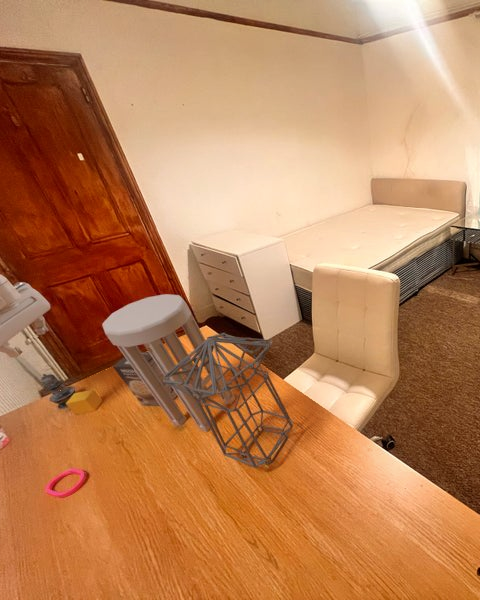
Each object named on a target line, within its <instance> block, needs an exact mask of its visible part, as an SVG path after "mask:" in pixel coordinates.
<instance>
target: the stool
mask: <svg viewBox="0 0 480 600" xmlns="http://www.w3.org/2000/svg"><path fill="white" fill-rule="evenodd" d="M101 325H102V329H103V331H104V334H105V336H106V337H107V338H108V340H109V341H110V343H111V344H112V345H113V346H116V347H117V348H118V349H119V351H120V353H122V355H123V357H125V358H126V359H127V360H128V362H129V363H130V365H131V366H132V367H133V369H134V370H135V371H136V373H137V374H138V376H139V377H140V378H141V380H142V381H143V383H144V384H145V385H146V387H147V388H148V389H149V391H150V392H151V394H152V395H153V396H154V398H155V399H156V401H157V402H158V403H159V405H160V406H159V407H161V409H162V410H163V412H164V413H165V414H166V416H167V417H168V419H169V420H170V421H171V423H172V425H174V426H177V427H182V426H183V424H185V423H186V421H187V420H188V419H187V418H186V416H185V414H184V413H183V412H182V410H181V408H180V407H179V405H178V404H177V403H176V400H175V399H174V398H175V397H176V398H177V397H178V399H179V400H180V402H181V403H182V405H183V406H184V408H185V410H186V411H187V412H188V414H189V415H190V417H191V418H192V420H193V421H194V424H196V427H197V428H198V429H199V431H200V432H201V431H202V432H205V433H208V432H209V431H211V429H210V427H209V425H208V423H207V421H206V419H205V417H204V415H203V413H202V411H201V409H200V408H199V406H198V404H197V401H196V399H195V398H194V397H193V396H191V395H189V394H186V393H184V392H182V391H180V390H178V389H176V388H174V387H172V386H169V385H167V384H166V385H165V386H164V385H163V383H162V382H161V381H160V379H159V378H158V376H157V375H156V373H155V372H154V370H153V369H152V367H151V366H150V364H149V363H148V361H147V360H146V358H145V357H144V355H143V354H142V353H141V352H142V351H141V350H140V348H139V347H138V346H140V345H143V346H144V348H145V349H146V351H147V352H149V353H150V355H151V356H152V358H153V359H154V361H155V362H156V364H157V365H158V367H159V369H160V370H161V372H162V373H163V375H165V374H166V373H168V372H169V371H170V370H171V369H172V368H174V367H175V366H176V365H177V364H178V363H180V362H181V361H182V360H183V359H184V358H186V357H187V356H188V355H189V354H188V352H187V349H186V348H185V347H184V344H183V343H182V341H181V340H180V338H179V336H178V334H177V332H176V331H177V330H178V329H180V328H182V330H183V332H184V334H185V335H186V337H187V339H188V341H189V343H190V345H191V346H192V348H193V351H194V350H195V349H196V348H197V347H198V346H199V345H200V344H202V343H203V342H204V341H205V340H206V337H205V336H204V334H203V332H202V331H201V328H200V327H199V325H198V323H197V320H196V318H195V317H194V315H193V313H192V311H191V309H190V307H189V305H188V304H187V302H186V301H185V300H184V298H183V297H182V296H181V295H179V294H170V293H168V294H167V293H164V294H158V295H153V296H148V297H144V298H142V299H139V300H136V301H133V302H131V303H128V304H127V305H124V306H123V307H121V308H119V309H118V310H116V311H113V312H112V313H111V314H110V315H109V316H108V317H107V318H106V319H105V320H104V321H103V322H102V324H101ZM162 340H163V341H164V343H165V344H164V343H163V341H162ZM166 346H167V347H166ZM167 348H168V349H167ZM168 350H169V351H170V352H169V351H168ZM207 351H208V349H207ZM170 353H171V354H170ZM199 354H200V353H199ZM199 354H198V356H199ZM172 356H173V357H172ZM198 356H197V357H198ZM208 356H209V354H208ZM173 358H174V359H173ZM190 359H191V358H189V359H188V360H187V361H189V360H190ZM201 360H202V357H201V359H200V361H201ZM207 360H208V359H207V356H206V357H205V361H204V363H205V362H207ZM187 361H186V362H187ZM213 362H214V363H215V364H218V360H217V358H215V356H214V355H213ZM176 363H177V364H176ZM194 364H195V363H194V361H192V362H190V363H189V364H187V365H186V366H184V367H182V368H181V369H179V370H178V371H176V372H180V371H184V370H189V369H192V368H193V366H194ZM218 365H219V364H218ZM203 369H204V370H205V371H206V373H207V375H206V376H205V377H204V378H203V377H202V376H201V377H200V379H201V386H202V389H203V390H205V389H207V388H208V386H207V385H208V383H210V382H211V373H210V363H208V364H207V365H205V366H204V367H203ZM214 370H215V377H216V380H217V379H218V378H219V377H220V376H221V371H220V367H219V366H217V365H214ZM189 374H190V372H187V373H183V374H178V375H173V376H171V377H170V378H169V379H168V380H171V381H178V382H183V383H185V382H186V380H187V378H188V376H189ZM185 377H186V378H185ZM166 378H167V377H166ZM196 379H197V370H196V371H194V373H193V375H192V377H191V379H190V381H189V383H188V385H190V386H192V387H195V383H196ZM224 379H225V382H226V384H227V383H228V381H227V379H226V376H224ZM175 385H177V386H179V387H181V388H183V389H185V390H186V388H185V387H184V386H183V385H178V384H175ZM216 385H217V392H220V391H222V388H223V387H224V382H223V378H222V377H221V378H220V379H219V380H218V381H217V382H216ZM228 387H231V385H229V386H228ZM171 388H173V390H174V391H173V392H172V393H170V394H169V392H168V390H169V389H171ZM198 389H199V384H198ZM189 390H190V391H191V392H192V393H195V392H194V391H193V390H191V389H189ZM232 390H233V389H230V390H228V391H226V392H223V393H220V394H218V395H219V397H220V398H221V400H222V403H223V404H226V405H230V406H231V405H233V403H234V402H235V401H236V400H237V399H236V396H235V394H234V392H233V391H232ZM208 391H212V386H211V387H210V388H209V389H208ZM199 393H200V392H199ZM195 394H196V393H195ZM205 394H207V393H204V394H203V395H205ZM196 398H197V399H198V398H199V397H196ZM173 399H174V400H173ZM204 399H205V398H204ZM200 401H201V402H202V400H200ZM205 401H207V400H206V399H205ZM207 416H208V418H209V420H210V422H211V424H212V426H213V427H214V425H213V423H212V421H211V419H210V416H209V414H207Z"/></svg>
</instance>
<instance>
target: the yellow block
mask: <svg viewBox="0 0 480 600" xmlns="http://www.w3.org/2000/svg"><path fill="white" fill-rule="evenodd" d="M102 403H103V399H102V397H100V395H99V394H98V393H97V392H96V391H95V389H88V390H83V391H79V392H76V393H74V394H73V395H72V397H71V398H70V399H69V400H68V401H67V403H66V405H67V406H68V407H67V408H69V409H70V410H71V412H73V413H74V414H75V415H76V416H78V415H82V414H87V413H90V412H91V413H92V412H95V411H97V409H98V408H99V407H100V405H101V404H102Z"/></svg>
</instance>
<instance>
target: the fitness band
mask: <svg viewBox="0 0 480 600" xmlns="http://www.w3.org/2000/svg"><path fill="white" fill-rule="evenodd" d="M68 475H69V476H70V475H79V476H80V478H79V479H78V481H77V483H76V484H75V485H73V486H72V487H71V488H69V489H67V490H65V491H57V490H53V487H54V486H55V484H57V482H58V481H60V480H61V479H63V478H64V477H66V476H68ZM87 475H88V473H87V472H86V471H84V470H82V469H80V468H79V469H78V468H74V467H70V468H69V469H68V470H66V471H64V472H61V473H60V474H58V475H57V476H55V477H54V478H52V479H51V480H50V481H49V482H48V483H47V484H46V486H45V487H44V490H45V493H46V494H48V495H49V496H52V497H55V498H62V499H63V498H66V497H69V496H71V495H73V494H74V493H76V492H77V491H79V489H80V488H81V487H82V486H83V484H84V482H85V480H86V478H87V477H86V476H87Z"/></svg>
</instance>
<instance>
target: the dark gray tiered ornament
mask: <svg viewBox="0 0 480 600" xmlns="http://www.w3.org/2000/svg"><path fill="white" fill-rule="evenodd" d="M40 383H42V384H43V385H44V387H45V390H46V391H49V392H50V393H51V395H50V397H49V398H48V399H49V402H51V403H53V404H56V405H57V404H58V405H57V408H58V409H60V410H63V409H67V408H69V407H68V406H67V405H66V403H67V401H68V400H69V399H70V398H71V397H72V395H73V394H74V393H77V392H76V387H75V386H65V385H64V383H63V381H62V380H59V379H58V378H57V377H56V376H55V375H54V374H50V373H49V374H46V373H43V374H42V377H41V378H40ZM60 390H61V391H60Z"/></svg>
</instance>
